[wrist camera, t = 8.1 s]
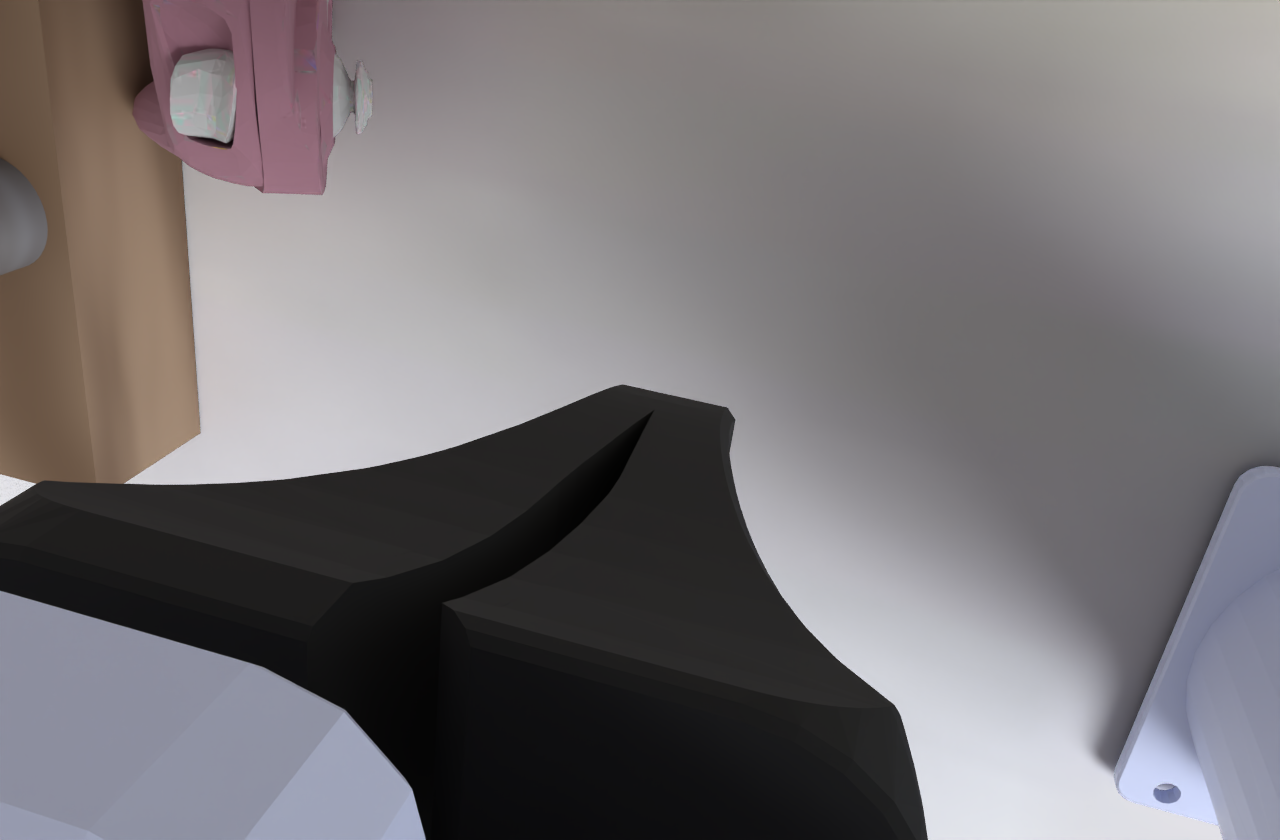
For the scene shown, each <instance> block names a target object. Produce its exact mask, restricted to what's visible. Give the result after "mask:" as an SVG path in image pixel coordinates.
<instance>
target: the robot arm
mask: <svg viewBox="0 0 1280 840" xmlns="http://www.w3.org/2000/svg"><path fill="white" fill-rule="evenodd" d="M734 424H735V419H734V417H733V415H732V414H731V412H730V411H729V409H728V408H726V407H722V406H717V405H713V404H708V403H704V402H699V401H695V400H690V399H686V398H681V397H677V396H672V395H668V394H663V393H658V392H654V391H649V390H645V389H640V388H636V387H631V386H627V385H619V386H615V387H611V388H608V389H606V390H603V391H600V392H598V393H595V394H593V395H590V396H588V397H586V398H583V399H581V400H578V401H576V402H574V403H571V404H569V405H567V406H564V407H562V408H559V409H557V410H554V411H552V412H550V413H547V414H545V415H542V416H540V417H537V418H535V419H532V420H530V421H527V422H525V423H522V424H520V425H517V426H514V427H511V428H508V429H506V430H503V431H500V432H497V433H494V434H491V435H488V436H485V437H482V438H480V439H477V440H474V441H471V442H468V443H465V444H462V445H459V446H456V447H453V448H449V449H446V450H443V451H439V452H435V453H432V454H428V455H424V456H420V457H416V458H412V459H407V460H403V461H398V462H394V463H389V464H385V465H380V466H375V467H370V468H364V469H357V470H350V471H343V472H336V473H329V474H321V475H314V476H307V477H300V478H293V479H284V480H273V481H259V482H244V483H225V484H197V485H145V484H115V483H84V482H62V481H47V480H44V481H41V482H39V483H37V484H36V485H34V486H32V487H31V488H29V489H27V490H26V491H24V492H22V493H21V494H19V495H18V496H16V497H14V498H13V499H11V500H9V501H8V502H6V503H4V504H3V505H1V506H0V840H928V838H927V831H926V824H925V817H924V810H923V805H922V800H921V795H920V790H919V786H918V781H917V776H916V771H915V767H914V763H913V759H912V756H911V752H910V748H909V744H908V740H907V737H906V733H905V729H904V726H903V723H902V719H901V716H900V714H899V712H898V710H897V708H896V707H895V705H894V704H892V703H891V702H890V701H889V700H887V699H886V698H885V697H884V696H882V695H881V694H880V693H879V692H877V691H876V690H875V689H874V688H872V687H871V686H870V685H868V684H867V683H866V682H865V681H863V680H862V679H861V678H860V677H858V676H857V675H856V674H855V673H853V672H852V671H851V670H850V669H848V668H847V667H846V666H845V665H843V664H842V663H841V662H840V661H839V660H837V659H836V658H835V657H834V656H833V655H832V654H831V653H830V652H829V651H828V650H827V649H826V648H825V647H824V646H823V645H822V644H821V643H820V642H819V641H818V639H817V638H816V637H815V636H814V635H813V634H812V633H811V632H810V631H809V630H808V629H807V628H806V627H805V626H804V625H803V623H802V622H801V621H800V620H799V619H798V617H797V616H796V615H795V613H794V612H793V611H792V609H791V608H790V607H789V605H788V604H787V603H786V601H785V600H784V599H783V597H782V596H781V594H780V593H779V591H778V589H777V588H776V586H775V584H774V583H773V581H772V579H771V578H770V576H769V574H768V572H767V570H766V568H765V566H764V564H763V562H762V560H761V559H760V557H759V555H758V553H757V550H756V548H755V546H754V543H753V541H752V539H751V536H750V534H749V531H748V529H747V526H746V523H745V520H744V517H743V514H742V511H741V508H740V505H739V501H738V497H737V494H736V489H735V484H734V479H733V474H732V469H731V463H730V455H729V452H730V447H731V441H732V435H733V430H734ZM1114 780H1115V785H1116V788H1117V790H1118V793H1119V794H1120V795H1121V796H1122V797H1124V798H1125V799H1126V800H1129V801H1131V802H1133V803H1137V804H1140V805H1144V806H1148V807H1151V808H1155V809H1159V810H1163V811H1166V812H1170V813H1174V814H1177V815H1181V816H1185V817H1188V818H1192V819H1196V820H1199V821H1203V822H1207V823H1211V824H1214V825H1218V826H1219V828H1220V831H1221V834H1222V838H1223V840H1280V468H1279V467H1274V466H1259V467H1256V468H1252V469H1249V470H1248V471H1246V472H1245V473H1243V474H1242V475H1240V477H1239V478H1238V480H1237V481H1236V482H1235V484H1234V486H1233V489H1232V491H1231V493H1230V496H1229V498H1228V501H1227V503H1226V505H1225V508H1224V510H1223V512H1222V515H1221V517H1220V520H1219V522H1218V524H1217V527H1216V529H1215V531H1214V534H1213V536H1212V539H1211V541H1210V543H1209V546H1208V548H1207V550H1206V553H1205V555H1204V558H1203V560H1202V562H1201V565H1200V567H1199V570H1198V572H1197V574H1196V577H1195V579H1194V581H1193V584H1192V586H1191V589H1190V591H1189V593H1188V596H1187V598H1186V600H1185V603H1184V605H1183V608H1182V610H1181V612H1180V615H1179V617H1178V619H1177V622H1176V624H1175V627H1174V629H1173V631H1172V634H1171V636H1170V639H1169V641H1168V643H1167V646H1166V648H1165V650H1164V653H1163V655H1162V658H1161V660H1160V662H1159V665H1158V667H1157V669H1156V672H1155V674H1154V677H1153V679H1152V681H1151V684H1150V686H1149V688H1148V691H1147V693H1146V696H1145V698H1144V700H1143V703H1142V705H1141V707H1140V710H1139V712H1138V715H1137V717H1136V719H1135V722H1134V724H1133V727H1132V729H1131V731H1130V734H1129V736H1128V738H1127V741H1126V743H1125V746H1124V748H1123V750H1122V753H1121V755H1120V757H1119V760H1118V762H1117V765H1116V767H1115V771H1114ZM1164 783H1165V784H1172V785H1174V786H1175V787H1174V788H1172V789H1169V790H1159V789H1157V788H1156V787H1157V786H1158V785H1161V784H1164Z"/></svg>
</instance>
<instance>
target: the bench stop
mask: <svg viewBox="0 0 1280 840" xmlns="http://www.w3.org/2000/svg"><path fill="white" fill-rule="evenodd" d="M153 81H154V79H153V75H152V70H151V66H150V58H149V50H148V41H147V33H146V25H145V17H144V9H143V1H142V0H0V474H2V475H6V476H10V477H13V478H17V479H21V480H25V481H28V482H32V483H36V484H37V483H39V482H41V481H44V480H47V481H62V482H84V483H115V484H124V483H125V482H127V481H128V480H130V479H131V478H133V477H134V476H136V475H137V474H139V473H140V472H142V471H143V470H145V469H146V468H148V467H150V466H151V465H153V464H154V463H156V462H157V461H159V460H160V459H162V458H163V457H165V456H166V455H168V454H169V453H171V452H172V451H174V450H175V449H177V448H178V447H180V446H181V445H183V444H185V443H186V442H188V441H189V440H191V439H192V438H194V437H195V436H197V435H198V434H200V420H199V406H198V391H197V377H196V362H195V348H194V334H193V319H192V305H191V290H190V276H189V261H188V247H187V233H186V218H185V204H184V189H183V175H182V161H181V159H180V158H179V157H178V156H176V155H174V154H173V153H171V152H169V151H168V150H166V149H164V148H163V147H161V146H160V145H159V144H157V143H156V142H155V141H153V140H152V139H151V138H149V137H148V136H147V135H146V134H145V133H143V132H142V131H141V130H140V129H139V127H138V125H137V123H136V121H135V119H134V117H133V115H132V113H133V106H134V100H135V98H136V96H137V95H138V94H139V93H140V92H141V91H142V90H143V89H144V88H145V87H146V86H147V85H148V84H150V83H151V82H153Z"/></svg>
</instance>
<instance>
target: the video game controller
mask: <svg viewBox="0 0 1280 840" xmlns="http://www.w3.org/2000/svg"><path fill="white" fill-rule="evenodd" d="M142 1H143V9H144V17H145V25H146V33H147V41H148V50H149V58H150V66H151V70H152V75H153V79H154V81H153V82H151V83H150V84H148V85H147V86H146V87H145V88H144V89H143V90H142V91H141V92H140V93H139V94H138V95H137V96H136V98H135V100H134V106H133V113H132V115H133V117H134V119H135V121H136V123H137V125H138V127H139V129H140V130H141V131H142V132H143V133H145V134H146V135H147V136H148V137H149V138H151V139H152V140H153V141H155V142H156V143H157V144H159V145H160V146H161V147H163V148H164V149H166V150H168V151H169V152H171V153H173V154H174V155H176V156H178V157H179V158H180V159H181V160H183V161H184V162H185V163H186V164H187V165H189V166H190V167H192V168H194V169H196V170H197V171H199V172H201V173H204V174H206V175H208V176H211V177H213V178H216V179H220V180H224V181H227V182H231V183H235V184H240V185H245V186H254V187H255V188H257V189H258V190H259V191H261V192H262V193H285V194H314V195H323V193H324V190H325V187H326V176H327V160H328V157H329V155H330V152H331V150H332V148H333V146H334V144H335V136H336V135H337V134H338V133H339V132H340V131H341V130H342V128H343V126H344V124H345V122H346V120H347V118H348V116H349V115H350V113H352V112H354V114H355V124H356V133H357V134H360V133H362V132H363V129H364V127H365V126H367V121H368V119H369V118H370V117H371V116H372V99H373V95H372V80H371V79H369V77H368V71H367V70H366V69H365V67H364V65H363V62H362V61H360V60H357V64H356V75H355V80H354V81H351V80H350V79H349V77H348V74H347V72H346V70H345V68H344V65H343V63H342V61H341V60H340V59H339V57H338V56H337V55H336V49H335V46H334V44H333V42H332V0H142Z"/></svg>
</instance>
